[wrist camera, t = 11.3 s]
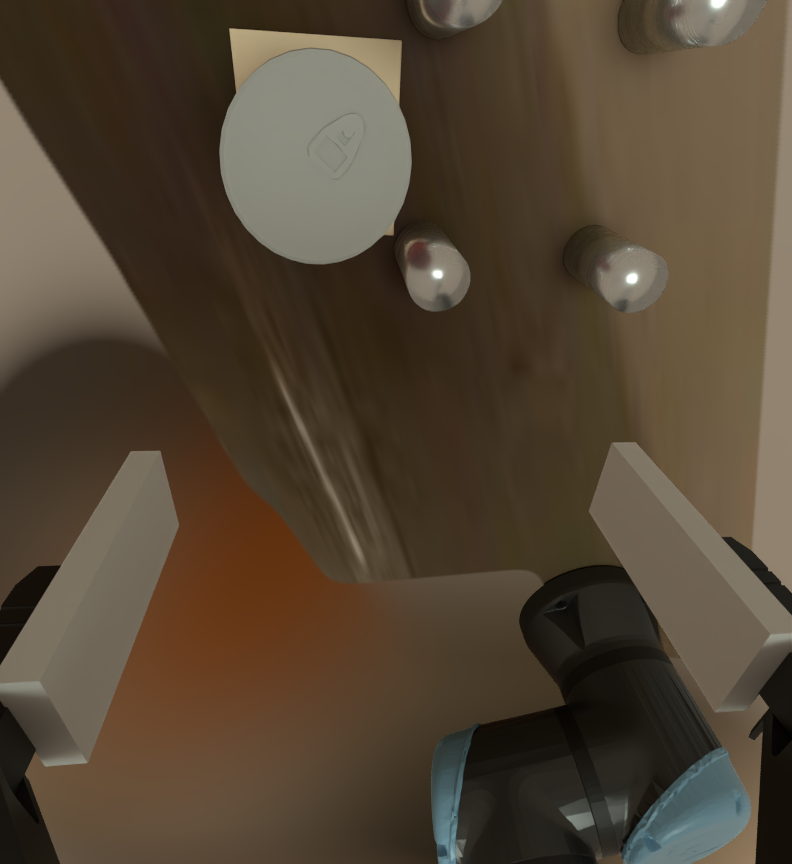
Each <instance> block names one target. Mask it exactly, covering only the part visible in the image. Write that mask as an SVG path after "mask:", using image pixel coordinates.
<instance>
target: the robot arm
mask: <svg viewBox="0 0 792 864" xmlns="http://www.w3.org/2000/svg"><path fill="white" fill-rule="evenodd" d="M589 513H590V514H591V516H592V517H593V519H594V521H595V522H596V524H597V525H598V527H599V528H600V530H601V532H602V533H603V535H604V536H605V538H606V540H607V541H608V543H609V544H610V546H611V548H612V549H613V551H614V552H615V554H616V555H617V557H618V559H619V560H620V562H621V563H622V565H623V567H624V568H625V569H622V568H617V567H609V566H599V567H590V568H584V569H580V570H576V571H573V572H570V573H567V574H564V575H562V576H560V577H558V578H555V579H554V580H552V581H550V582H548V583H547V584H545V585H544V586H542V587H541V588H540V589H539V590H537V591H536V592H535V593H534V594H533V595H532V596H531V597H530V598H529V599H528V601H527V602H526V603H525V605H524V606H523V609H522V611H521V614H520V619H519V623H520V628H521V630H522V633H523V636H524V639H525V641H526V644H527V646H528V647H529V649H530V650H531V652H532V653H533V654H534V655H535V657H536V658H537V659H538V661H539V662H540V663H541V665H542V666H543V667H544V668H545V670H546V671H547V672H548V674H549V675H550V676H551V678H552V679H553V680H554V682H555V683H556V684H557V685H558V687H559V689H560V691H561V694H562V697H563V699H564V702H565V704H566V705H563V706H559V707H556V708H551V709H546V710H542V711H538V712H534V713H530V714H526V715H522V716H517V717H513V718H509V719H504V720H500V721H495V722H491V723H486V724H482V725H481V724H475V725H473V726H472V727H471V728H468V729H465V730H462V731H459V732H456V733H452V734H449V735H446V736H445V737H444V738H442V739H441V740H440V742H439V743H438V745H437V747H436V749H435V753H434V757H433V764H432V774H431V798H432V816H433V828H434V836H435V841H436V842H437V852H438V863H439V864H598V862H597V859H602V858H604V857H609V856H614V855H621V856H622V857H621V858H622V860H623V863H624V864H691V863H694V862H696V861H698V860H700V859H702V858H704V857H706V856H708V855H709V854H711V853H713V852H715V851H716V850H718V849H720V848H721V847H723V846H724V845H726V844H727V843H728V842H730V841H731V840H733V839H734V838H735V837H736V836H737V835H738V834H739V833H740V832H741V831H742V830H743V829H744V828H745V826H746V825H747V823H748V821H749V818H750V815H751V802H750V799H749V796H748V794H747V792H746V790H745V788H744V786H743V784H742V782H741V780H740V779H739V777H738V775H737V773H736V771H735V770H734V768H733V766H732V764H731V762H730V760H729V758H730V757H729V754H728V752H727V751H726V749H725V748H724V747H722V745H721V744H720V742H719V740H718V739H717V737H716V736H715V734H714V732H713V731H712V729H711V727H710V726H709V724H708V722H707V721H706V719H705V717H704V716H703V714H702V712H701V711H700V709H699V707H698V706H697V704H696V702H695V701H694V699H693V697H692V696H691V694H690V692H689V691H688V689H687V687H686V686H685V684H684V682H683V681H682V679H681V677H680V676H679V674H678V673H677V671H676V669H675V668H674V666H673V664H672V662H671V661H670V659H669V657H668V656H667V654H666V652H665V650H664V647H663V642H662V638H661V634H660V629H659V625H658V622H659V624H660V625H661V627H662V629H663V630H664V632H665V633H666V635H667V637H668V638H669V640H670V641H671V643H672V645H673V646H674V648H675V649H676V651H677V653H678V654H679V656H680V657H681V659H682V660H683V662H684V664H685V665H686V667H687V668H688V670H689V672H690V673H691V675H692V676H693V678H694V679H695V681H696V683H697V684H698V686H699V687H700V689H701V691H702V692H703V694H704V695H705V697H706V698H707V700H708V702H709V703H710V705H711V707H712V708H713V710H714V711H715V712H726V711H737V710H747V709H748V708H749V706H750V705H751V704H752V703H753V701H754V700H755V699H756V697H757V696H758V695H759V694H760V696H761V697H762V698H763V700H764V701H765V702H766V704H767V705H768V706H769V709H768V711H767V712H766V713H765V714H764V715H763V716H762V718H761V719H760V720H759V721H758V723H757V724H756V725H755V726H754V728H753V729H752V730H751V733H750V735H749V738H751V739H753V740H755V739H756V738H757V737H758V735H759V734H760V733H761V732H763V738H762V756H761V773H760V775H761V776H760V793H759V809H758V810H759V811H758V828H757V845H756V846H757V847H756V863H755V864H792V593H791V592H790V591H789V590H788V589H787V588H786V587H785V586H784V585H781V581H780V580H779V579H778V578H777V577H776V576H775V575H774V574H773V573H772V572H771V571H770V572H769V571H768V568H767V566H766V565H765V564H764V563H763V562H762V561H761V560H760V559H759V558H758V557H757V556H756V555H755V554H754V553H753V552H752V551H751V550H750V549H748V548H747V547H745V546H744V545H742V544H741V543H739V542H738V541H736V540H735V539H733V538H732V537H721V536H720V535H719V534H718V533H717V532H716V531H715V530H714V529H713V528H712V526H711V525H710V524H709V523H708V522H707V521H706V520H705V519H704V518H703V517H702V515H701V514H700V513H699V512H698V511H697V510H696V509H695V508H694V507H693V505H692V504H691V503H690V502H689V501H688V500H687V499H686V498H685V497H684V495H683V494H682V493H681V492H680V491H679V490H678V489H677V488H676V487H675V485H674V484H673V483H672V482H671V481H670V480H669V479H668V478H667V477H666V476H665V474H664V473H663V472H662V471H661V470H660V469H659V468H658V467H657V466H656V464H655V463H654V462H653V461H652V460H651V459H650V458H649V457H648V456H647V454H646V453H645V452H644V451H643V450H642V449H641V448H640V447H639V446H638V444H637V443H636V442H623V443H611V446H610V449H609V452H608V455H607V458H606V461H605V464H604V467H603V470H602V473H601V476H600V480H599V483H598V486H597V489H596V492H595V495H594V498H593V501H592V504H591V507H590V510H589ZM178 526H179V523H178V519H177V515H176V512H175V508H174V504H173V500H172V496H171V492H170V488H169V484H168V480H167V476H166V472H165V468H164V464H163V460H162V456H161V452H160V451H131V452H130V454H129V456H128V457H127V459H126V460H125V462H124V464H123V466H122V467H121V469H120V470H119V472H118V473H117V475H116V477H115V478H114V480H113V482H112V483H111V485H110V487H109V488H108V490H107V492H106V493H105V495H104V497H103V498H102V500H101V501H100V503H99V505H98V506H97V508H96V510H95V511H94V513H93V515H92V516H91V518H90V520H89V521H88V523H87V524H86V526H85V528H84V529H83V531H82V533H81V534H80V536H79V538H78V539H77V541H76V542H75V544H74V546H73V547H72V549H71V551H70V552H69V554H68V556H67V557H66V559H65V561H64V562H63V564H62V565H60V566H38V567H37V568H35V569H34V570H33V571H32V572H31V573H29V574H28V575H27V576H26V577H25V578H23V579H22V580H21V581H20V582H19V583H17V584H16V585H15V587H14V588H13V590H12V591H11V592H10V594H9V595H8V597H7V598H6V600H5V601H4V603H3V604H2V606H1V610H0V864H60V862H59V860H58V857H57V854H56V852H55V849H54V846H53V844H52V841H51V838H50V835H49V833H48V830H47V827H46V825H45V822H44V819H43V817H42V815H41V812H40V809H39V806H38V803H37V801H36V798H35V795H34V793H33V790H32V787H31V784H30V782H29V780H28V779H27V777H26V776H25V772H26V770H27V768H28V766H29V764H30V762H31V759H32V757H33V755H34V753H35V752H36V754H37V755H38V757H39V758H40V759H41V761H42V762H43V764H44V765H45V766H56V765H68V764H81V763H88V760H89V758H90V755H91V753H92V750H93V747H94V745H95V742H96V740H97V737H98V734H99V732H100V729H101V727H102V724H103V721H104V719H105V716H106V714H107V711H108V708H109V706H110V703H111V701H112V698H113V695H114V693H115V690H116V688H117V685H118V682H119V679H120V677H121V675H122V672H123V669H124V667H125V664H126V662H127V659H128V656H129V654H130V651H131V649H132V646H133V644H134V641H135V638H136V636H137V633H138V630H139V628H140V625H141V623H142V620H143V618H144V615H145V612H146V610H147V607H148V604H149V602H150V599H151V597H152V594H153V592H154V588H155V586H156V584H157V581H158V578H159V576H160V573H161V571H162V568H163V566H164V563H165V560H166V558H167V555H168V553H169V550H170V547H171V545H172V542H173V540H174V537H175V534H176V532H177V529H178Z"/></svg>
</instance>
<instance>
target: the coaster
mask: <svg viewBox="0 0 792 864" xmlns="http://www.w3.org/2000/svg"><path fill="white" fill-rule="evenodd" d="M229 30H230V39H231V48H232V57H233V67H234V76H235V85H236V93H237V91H238V89H239V88H240V86H241V85H242V84H243V83H244V82H245V81H246V79H247V78H248V77H249V76H250V75H251V74H252V72H253V71H255V70H256V69H257V68H259V67H260V66H261V65H263V64H264V63H265V62H267V61H268V60H269V59H271V58H273V57H276V56H278V55H281V54H283V53H285V52H288V51H291V50H297V49H303V48H310V47H311V48H322V49H331V50H334V51H337V52H340V53H343V54H346V55H349V56H351V57H353V58H355V59H356V60H358V61H359V62H361V63H363V64H364V65H366V66H367V67H369V68H370V69H371V70H372V71H373V72H374V73H375V74H376V75H377V76H378V77H379V78H380V79H381V80H382V81H383V82H384V83H385V84H386V86H387V87H388V88H389V90H390V91H391V93H392V94H393V96H394V97H395V99H396V100H397V102H398V105H399V94H400V71H401V48H402V41H400V40H386V39H372V38H358V37H343V36H329V35H315V34H301V33H287V32H272V31H258V30H244V29H230V28H229ZM393 234H394V222H393V223H392V225H391V226H390V227H389V229H388V230H387V231H386V233H385V234H384V235H393Z"/></svg>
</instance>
